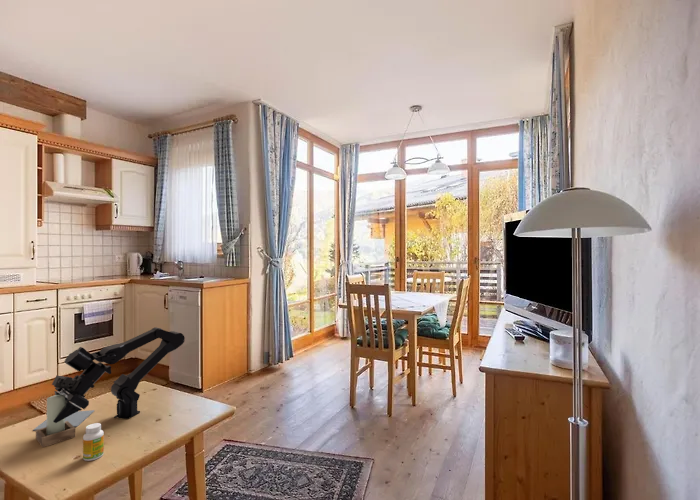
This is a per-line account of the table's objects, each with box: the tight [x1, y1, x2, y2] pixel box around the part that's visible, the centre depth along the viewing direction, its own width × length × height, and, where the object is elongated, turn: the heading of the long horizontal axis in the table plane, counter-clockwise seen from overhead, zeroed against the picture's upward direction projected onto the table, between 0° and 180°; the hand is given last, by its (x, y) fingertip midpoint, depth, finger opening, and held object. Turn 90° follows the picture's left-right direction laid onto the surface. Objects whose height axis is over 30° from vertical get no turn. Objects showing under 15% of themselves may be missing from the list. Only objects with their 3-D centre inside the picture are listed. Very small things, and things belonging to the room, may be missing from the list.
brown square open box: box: [35, 421, 76, 448], centre depth 130 cm, size 9×9×3 cm
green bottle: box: [46, 394, 65, 436], centre depth 130 cm, size 5×5×14 cm
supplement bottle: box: [82, 422, 105, 462], centre depth 118 cm, size 5×5×10 cm
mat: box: [32, 409, 95, 432], centre depth 143 cm, size 14×14×1 cm
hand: (50, 418), depth 129 cm, fingers open, 9 cm apart
